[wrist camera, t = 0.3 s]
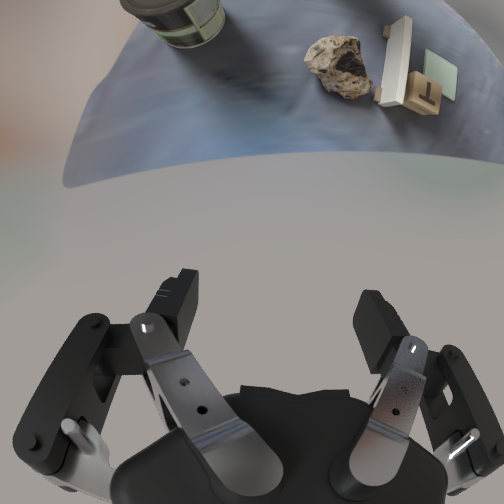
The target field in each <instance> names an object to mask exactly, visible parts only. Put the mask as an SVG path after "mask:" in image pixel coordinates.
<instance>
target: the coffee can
mask: <svg viewBox="0 0 504 504" xmlns="http://www.w3.org/2000/svg"><path fill="white" fill-rule="evenodd" d="M120 3H121V5H122V7H123V8H124V9H125V10H126V11H127V12H129V13H130V14H132V15H134V16H135V17H137V18H138V19H139V20H140V21H142V22H143V23H144V24H145V25H147V26H148V27H149V28H150V29H151V30H153V31H154V32H155V33H156V34H157V35H159V36H160V37H161V38H162V39H163V40H164V41H165V42H166V43H167V44H169V45H171V46H173V47H176V48H182V49H187V48H194V47H198V46H201V45H203V44H205V43H207V42H209V41H211V40H212V39H213V38H214V37H216V36H217V35H218V33H219V32H220V31H221V29H222V27H223V26H224V23H225V12H224V9H223V7H222V5H221V2H220V0H120Z"/></svg>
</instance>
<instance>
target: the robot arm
mask: <svg viewBox="0 0 504 504" xmlns="http://www.w3.org/2000/svg"><path fill="white" fill-rule="evenodd" d="M198 282H199V273H198V270H192V269H184V268H183V269H182V270H181V272H180V274H179V275H178V277H177V278H173V277H170V278H168V279H167V280H165V281H164V282H163V283H162V284H161V286H160V288H159V290H158V291H157V293H156V295H155V296H154V298H153V300H152V301H151V303H150V305H149V307H148V309H147V310H146V312H145V313H141V314H138V315H136V316H135V317H134V318H133V319H132V320H131V321H130V323H129V324H110V321H109V319H108V317H107V316H105V315H103V314H100V313H92V314H88V315H86V316H84V317H82V318H81V319H80V320H79V321H78V323H77V324H76V326H75V327H74V329H73V330H72V332H71V333H70V335H69V336H68V338H67V339H66V341H65V342H64V344H63V346H62V347H61V349H60V350H59V352H58V353H57V355H56V357H55V358H54V360H53V362H52V363H51V365H50V366H49V368H48V370H47V372H46V373H45V375H44V377H43V378H42V380H41V382H40V384H39V386H38V387H37V389H36V391H35V393H34V395H33V397H32V398H31V400H30V402H29V404H28V406H27V408H26V410H25V412H24V414H23V416H22V418H21V420H20V422H19V424H18V426H17V429H16V431H15V433H14V436H13V447H14V450H15V452H16V454H17V455H18V457H19V458H20V459H21V460H23V461H24V462H25V463H26V464H28V465H29V466H30V467H31V468H32V469H33V470H34V471H35V472H37V473H38V474H39V475H41V476H42V477H44V478H45V479H47V480H48V481H50V482H51V483H53V484H55V485H57V486H59V487H60V488H62V489H64V490H66V491H69V492H77V491H80V492H82V493H85V494H87V495H90V496H93V497H95V498H98V499H100V500H103V501H106V502H109V503H112V504H445V497H446V494H447V495H449V496H455V495H458V494H459V493H461V492H462V491H464V490H466V489H468V488H469V487H471V486H473V485H474V484H476V483H477V482H479V481H480V480H482V479H483V478H485V477H486V476H488V475H489V474H491V473H492V472H494V471H495V470H496V469H498V468H499V467H500V466H502V465H503V464H504V435H503V432H502V430H501V428H500V425H499V423H498V420H497V418H496V416H495V414H494V411H493V409H492V407H491V405H490V403H489V401H488V399H487V396H486V394H485V392H484V391H483V389H482V387H481V385H480V383H479V381H478V379H477V377H476V375H475V373H474V372H473V370H472V368H471V366H470V364H469V363H468V361H467V359H466V358H465V356H464V354H463V353H462V352H461V350H460V349H458V348H457V347H455V346H453V345H445V346H443V348H442V350H441V351H440V353H439V352H434V351H430V350H428V347H427V345H426V343H425V342H424V341H422V340H421V339H420V338H418V337H415V336H410V334H409V332H408V330H407V329H406V327H405V326H404V324H403V322H402V320H400V317H399V315H397V312H396V311H395V309H394V307H393V306H392V305H391V304H389V303H388V302H387V301H385V300H384V298H383V296H382V295H381V293H380V292H379V291H377V290H364V291H363V292H362V294H361V297H360V300H359V302H358V305H357V308H356V310H355V313H354V316H353V327H354V329H355V332H356V335H357V337H358V340H359V342H360V345H361V348H362V351H363V353H364V356H365V359H366V361H367V364H368V367H369V370H370V373H371V374H381V377H380V379H379V380H378V382H377V384H376V386H375V388H374V390H373V392H372V394H371V396H370V398H369V400H368V401H367V403H366V402H364V401H361V400H359V399H356V398H352V397H350V394H349V390H347V389H345V390H321V391H316V392H311V393H306V394H301V395H295V394H291V393H287V392H283V391H279V390H275V389H271V388H266V387H254V386H243V385H241V387H240V393H234V394H229V395H226V396H222V395H221V394H220V393H219V391H218V390H217V389H216V387H215V386H214V384H213V383H212V382H211V380H210V379H209V378H208V376H207V375H206V373H205V372H204V371H203V369H202V367H201V366H200V365H199V363H198V362H197V360H196V359H195V357H194V356H193V354H192V353H191V352H190V351H189V350H184V346H185V343H186V340H187V337H188V334H189V331H190V328H191V325H192V322H193V319H194V316H195V313H196V310H197V305H198V284H199V283H198ZM183 350H184V351H183ZM122 375H141V376H142V378H143V380H144V382H145V385H146V387H147V389H148V391H149V393H150V395H151V397H152V399H153V402H154V404H155V405H156V408H157V410H158V412H159V415H160V417H161V419H162V422H163V424H164V426H165V428H166V429H167V431H168V433H167V434H166V435H164V436H163V437H161V438H160V439H158V440H157V441H155V442H154V443H152V444H151V445H149V446H148V447H146V448H145V449H143V450H142V451H140V452H138V453H137V454H135V455H134V456H132V457H131V458H129V459H127V460H126V461H124V462H123V463H122V464H121V465H119V467H118V468H117V469H116V470H115V469H113V468H111V467H110V464H109V449H108V446H107V444H106V443H105V442H104V440H103V439H102V437H101V436H100V434H101V431H102V428H103V425H104V422H105V419H106V416H107V414H108V411H109V408H110V405H111V402H112V400H113V397H114V394H115V392H116V389H117V386H118V384H119V381H120V379H121V376H122ZM447 385H449V387H450V389H451V391H452V394H453V400H452V403H451V404H450V405H448V403H447V400H446V398H445V396H444V393H443V390H444V389H445V387H446V386H447ZM419 406H420V409H421V412H422V415H423V418H424V421H425V424H426V428H427V431H428V434H429V437H430V441H431V444H432V448H433V452H434V454H433V455H432V454H431V453H430V452H428V451H427V450H426V449H424V448H423V447H422V446H421V445H419V444H418V443H417V442H415V441H414V440H413V439H412V438H410V437H409V433H410V431H411V428H412V425H413V422H414V419H415V416H416V413H417V410H418V407H419Z"/></svg>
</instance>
